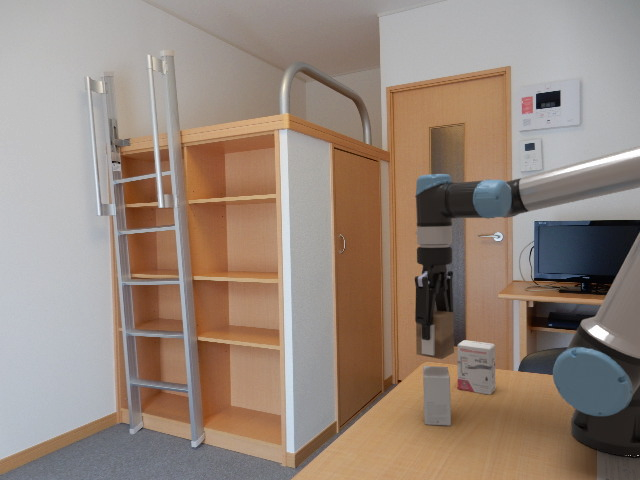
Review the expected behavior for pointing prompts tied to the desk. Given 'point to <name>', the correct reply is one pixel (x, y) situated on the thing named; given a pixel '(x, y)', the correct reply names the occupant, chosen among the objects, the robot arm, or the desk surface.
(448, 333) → the walnut block
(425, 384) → the small box
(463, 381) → the ink box
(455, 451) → the desk surface
